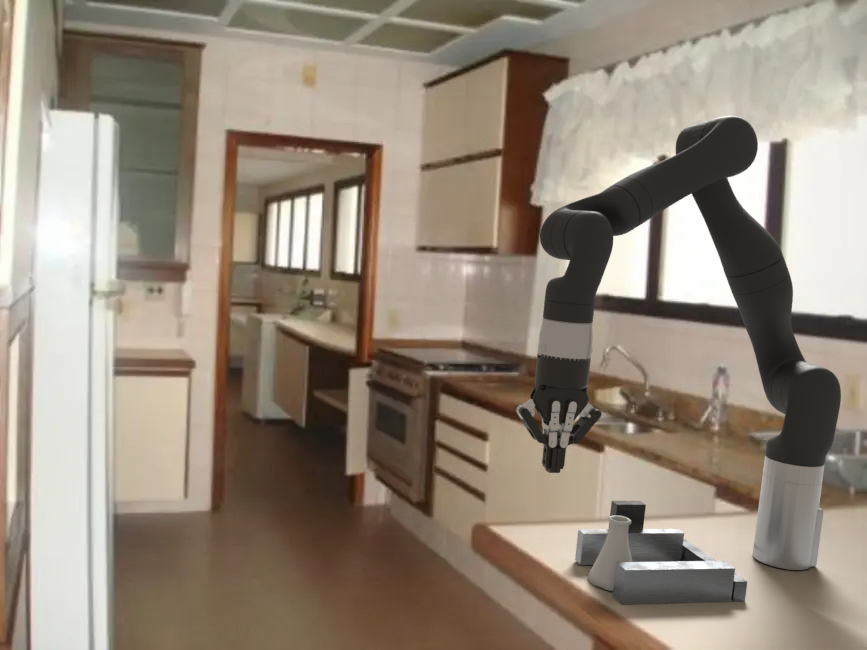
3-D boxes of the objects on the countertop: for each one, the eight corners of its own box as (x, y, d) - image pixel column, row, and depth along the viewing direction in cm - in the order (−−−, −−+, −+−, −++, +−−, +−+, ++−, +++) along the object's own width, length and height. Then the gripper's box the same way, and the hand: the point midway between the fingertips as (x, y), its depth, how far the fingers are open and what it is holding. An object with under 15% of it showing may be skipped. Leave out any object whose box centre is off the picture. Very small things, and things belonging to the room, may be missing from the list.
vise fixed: (679, 554, 157) (682, 524, 157) (744, 601, 139) (749, 568, 138) (568, 555, 152) (571, 525, 151) (621, 604, 134) (625, 570, 133)
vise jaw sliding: (668, 554, 156) (674, 501, 155) (680, 563, 152) (687, 508, 151) (570, 555, 151) (575, 500, 150) (580, 564, 148) (586, 508, 147)
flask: (608, 595, 137) (615, 528, 136) (578, 577, 143) (585, 512, 142) (647, 590, 140) (655, 524, 139) (616, 572, 146) (623, 509, 145)
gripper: (596, 350, 140) (583, 465, 142) (511, 346, 136) (500, 463, 138) (618, 358, 133) (605, 479, 135) (530, 354, 129) (517, 478, 131)
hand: (552, 471), depth 137 cm, fingers closed
